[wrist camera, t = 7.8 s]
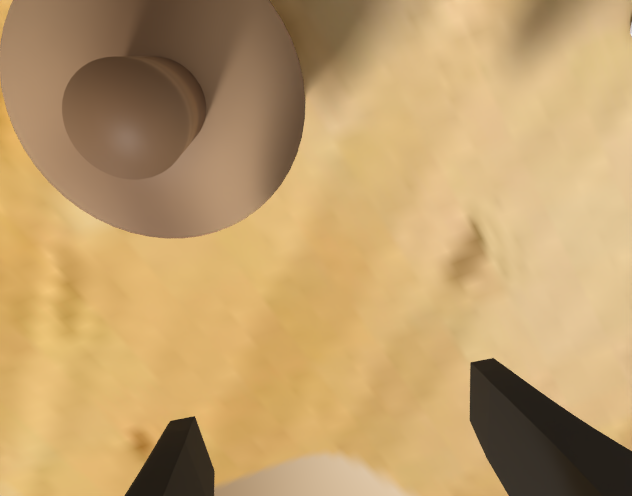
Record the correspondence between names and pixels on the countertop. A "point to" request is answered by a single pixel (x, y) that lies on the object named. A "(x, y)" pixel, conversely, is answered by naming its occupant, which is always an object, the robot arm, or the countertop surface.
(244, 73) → the lid
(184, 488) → the robot arm
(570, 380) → the countertop surface
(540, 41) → the countertop surface
